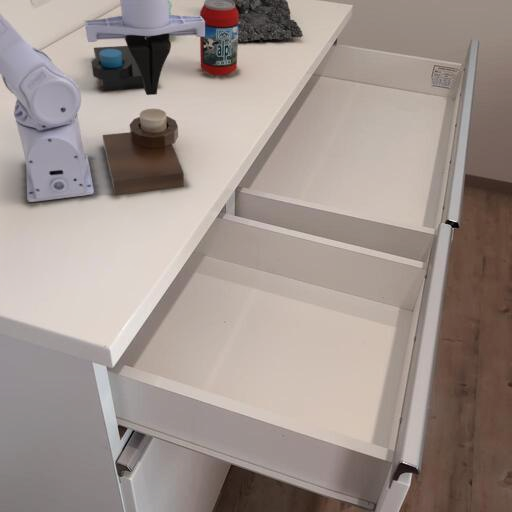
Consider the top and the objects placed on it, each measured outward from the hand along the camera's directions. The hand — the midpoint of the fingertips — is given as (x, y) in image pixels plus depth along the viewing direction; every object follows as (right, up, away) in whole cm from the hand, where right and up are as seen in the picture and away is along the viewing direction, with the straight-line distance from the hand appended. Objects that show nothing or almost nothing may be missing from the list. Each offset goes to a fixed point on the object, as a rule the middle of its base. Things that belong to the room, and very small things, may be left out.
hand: (150, 91), depth 73 cm
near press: (-1, -10, +2) cm, 10 cm away
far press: (-10, +11, +25) cm, 29 cm away
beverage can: (+7, +12, +29) cm, 32 cm away
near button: (0, -4, +3) cm, 5 cm away
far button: (-10, +10, +19) cm, 23 cm away
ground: (+16, +33, +46) cm, 59 cm away
